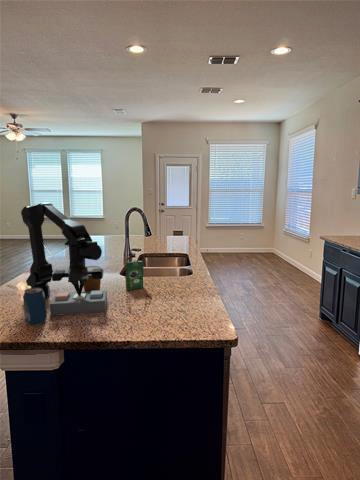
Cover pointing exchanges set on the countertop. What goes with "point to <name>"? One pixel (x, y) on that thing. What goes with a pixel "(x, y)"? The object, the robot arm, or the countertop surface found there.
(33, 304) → the soda can
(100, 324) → the countertop surface
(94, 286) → the disposable coffee cup
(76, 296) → the pale key
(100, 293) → the slate key
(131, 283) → the coffee box
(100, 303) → the key panel
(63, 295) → the rust key
